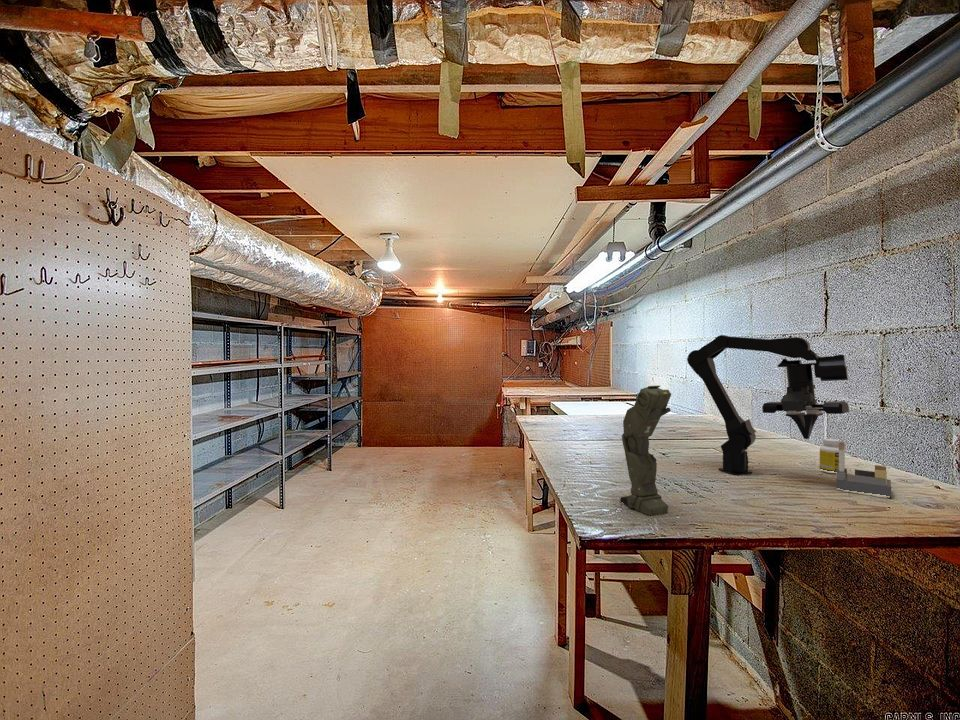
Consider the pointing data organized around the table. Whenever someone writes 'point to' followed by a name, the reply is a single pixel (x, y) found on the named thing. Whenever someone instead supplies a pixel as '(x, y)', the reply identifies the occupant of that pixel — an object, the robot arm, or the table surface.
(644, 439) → the mechanical leg
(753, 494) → the table surface
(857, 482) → the grey tray
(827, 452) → the supplement bottle
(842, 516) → the table surface
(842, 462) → the beige flat panel
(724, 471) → the robot arm
